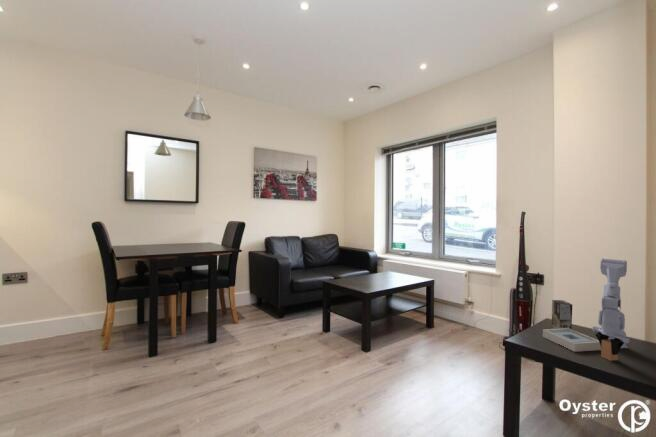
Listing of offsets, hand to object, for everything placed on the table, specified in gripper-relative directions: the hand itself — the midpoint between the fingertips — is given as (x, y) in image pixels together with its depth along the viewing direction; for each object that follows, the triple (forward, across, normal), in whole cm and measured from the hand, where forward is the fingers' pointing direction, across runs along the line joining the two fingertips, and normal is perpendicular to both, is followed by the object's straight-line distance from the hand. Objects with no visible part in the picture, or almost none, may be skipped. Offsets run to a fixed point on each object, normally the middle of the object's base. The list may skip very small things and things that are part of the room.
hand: (609, 352), depth 143 cm
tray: (+3, -17, -2) cm, 17 cm away
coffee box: (+3, -34, +10) cm, 36 cm away
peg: (+3, 0, 0) cm, 3 cm away
